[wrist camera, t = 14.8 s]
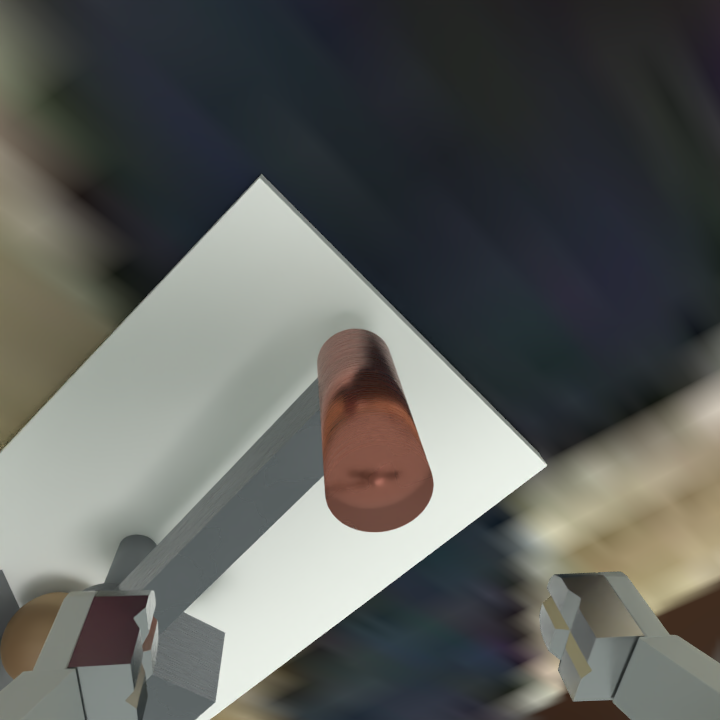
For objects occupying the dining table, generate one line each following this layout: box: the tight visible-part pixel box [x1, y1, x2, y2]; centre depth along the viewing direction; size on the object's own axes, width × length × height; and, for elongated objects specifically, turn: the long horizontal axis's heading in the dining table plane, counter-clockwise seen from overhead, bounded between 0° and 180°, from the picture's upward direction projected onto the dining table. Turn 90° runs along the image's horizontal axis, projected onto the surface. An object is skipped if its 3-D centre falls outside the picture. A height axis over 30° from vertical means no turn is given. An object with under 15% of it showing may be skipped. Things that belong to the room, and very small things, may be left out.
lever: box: [83, 329, 434, 720], centre depth 22 cm, size 20×7×8 cm, turn 137°
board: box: [0, 174, 547, 720], centre depth 28 cm, size 32×21×7 cm, turn 133°
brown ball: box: [0, 592, 69, 679], centre depth 29 cm, size 4×4×4 cm
